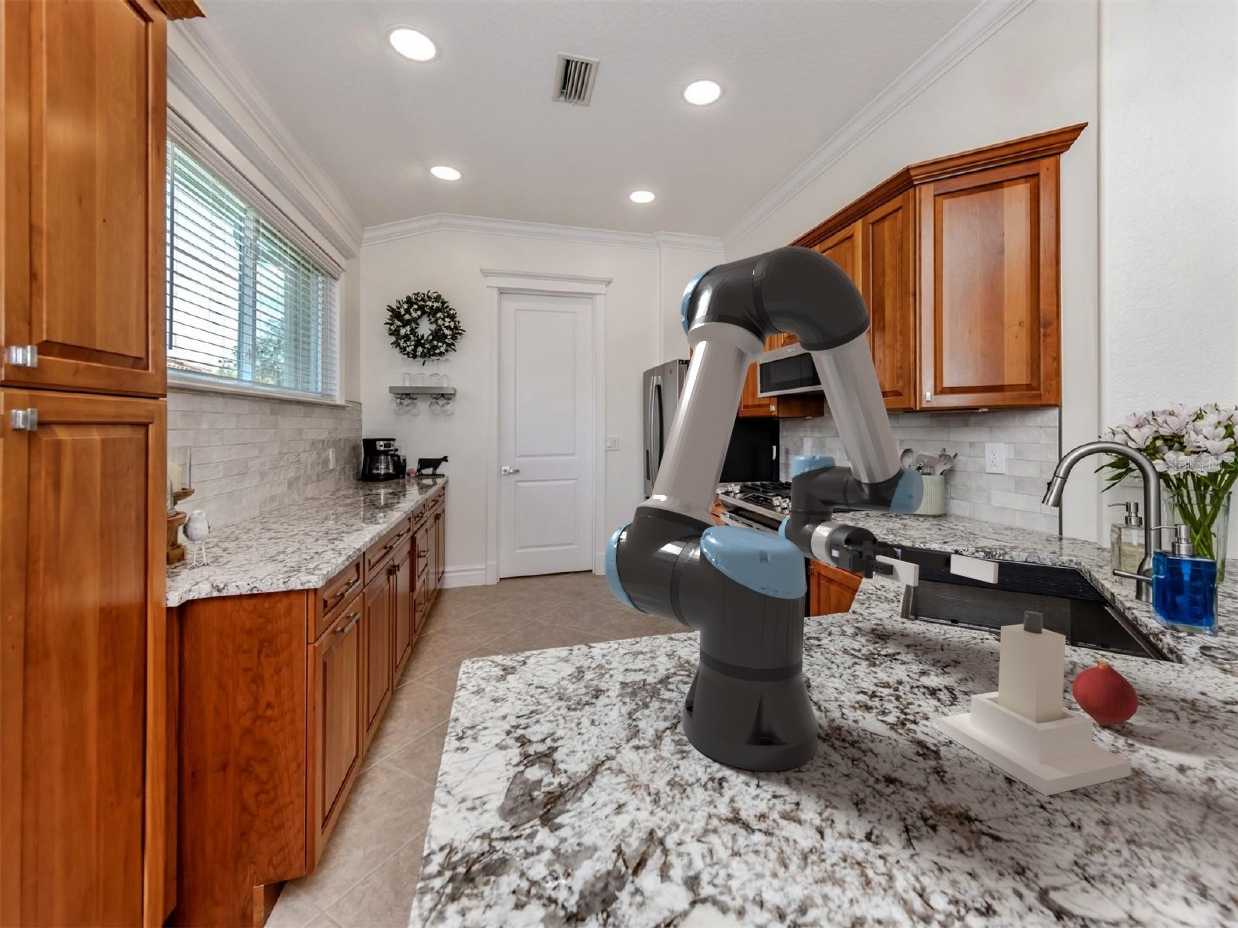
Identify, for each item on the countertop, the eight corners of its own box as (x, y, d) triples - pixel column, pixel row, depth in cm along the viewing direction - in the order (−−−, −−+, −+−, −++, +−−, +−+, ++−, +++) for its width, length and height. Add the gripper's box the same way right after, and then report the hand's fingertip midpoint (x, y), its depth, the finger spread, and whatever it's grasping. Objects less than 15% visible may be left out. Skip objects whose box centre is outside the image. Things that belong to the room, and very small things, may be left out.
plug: (996, 730, 59) (1001, 608, 58) (1022, 725, 60) (1028, 606, 59) (1033, 750, 55) (1039, 620, 54) (1060, 744, 56) (1066, 617, 56)
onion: (1108, 714, 66) (1111, 653, 66) (1150, 740, 60) (1154, 672, 60) (1059, 711, 67) (1062, 650, 66) (1096, 736, 61) (1099, 669, 61)
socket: (938, 730, 62) (939, 689, 61) (1013, 717, 65) (1014, 678, 65) (1045, 796, 50) (1048, 745, 50) (1130, 776, 53) (1132, 728, 53)
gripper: (902, 566, 92) (1025, 599, 72) (781, 569, 85) (878, 606, 65) (904, 525, 92) (1027, 545, 72) (783, 524, 85) (881, 547, 65)
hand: (957, 574), depth 68 cm, fingers open, 13 cm apart
